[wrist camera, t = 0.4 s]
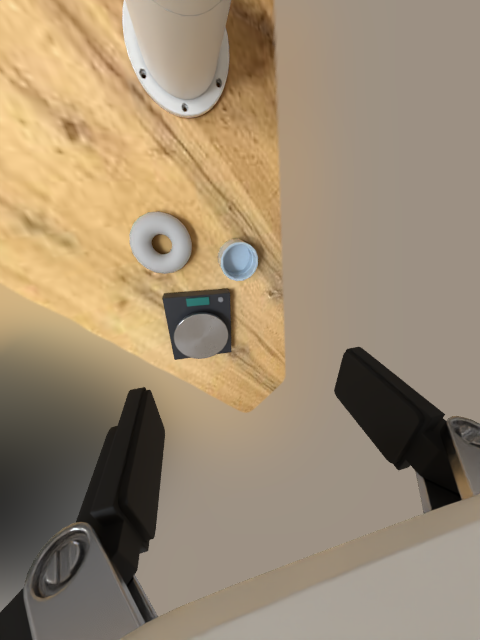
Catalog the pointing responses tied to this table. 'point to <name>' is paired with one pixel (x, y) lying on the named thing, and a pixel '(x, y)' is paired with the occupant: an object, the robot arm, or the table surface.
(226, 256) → the light blue cup
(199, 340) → the scale pan
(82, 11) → the table surface
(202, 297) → the scale
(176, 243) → the donut
